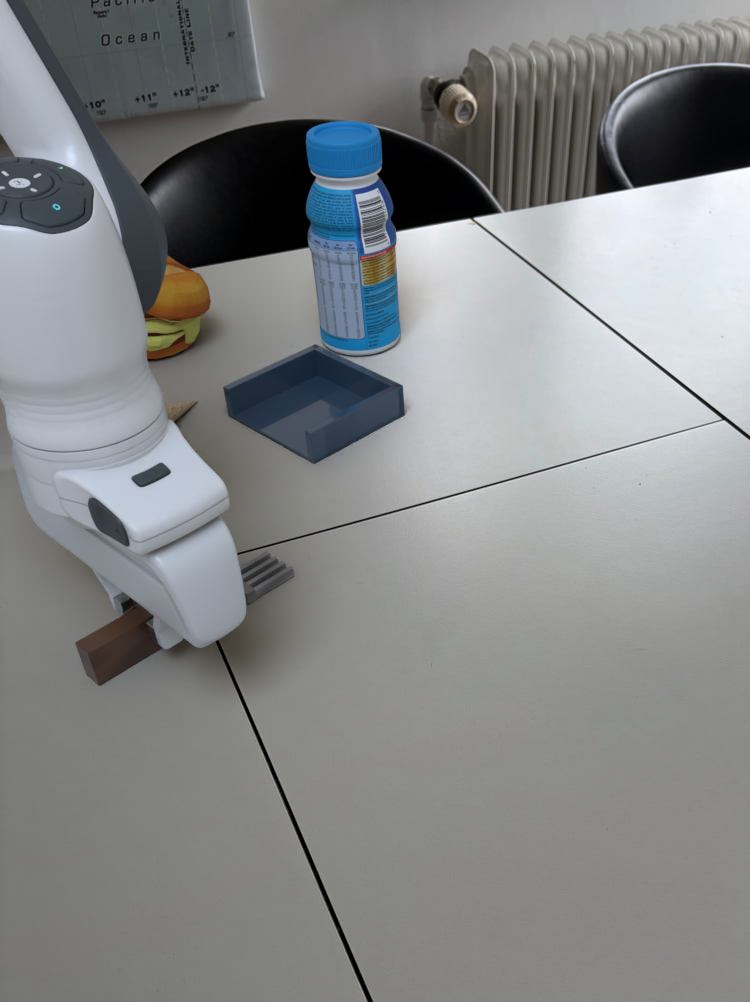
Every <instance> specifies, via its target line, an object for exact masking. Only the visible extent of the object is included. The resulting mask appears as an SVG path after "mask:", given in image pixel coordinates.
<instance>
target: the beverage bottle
mask: <svg viewBox="0 0 750 1002" xmlns="http://www.w3.org/2000/svg"><path fill="white" fill-rule="evenodd" d="M305 137H306V138H305V146H306V147H305V149H306V157H307V160H308V161H307V162H308V168H309V170H310V173H311V174H312V175H313V176H314V177H315V179H314V180H313V183H312V184H311V187H310V190H309V192H308V195H307V198H306V204H305V214H306V217H307V219H308V220H309V222H310V225H309V228H308V231H307V244H308V249H309V251H310V253H311V260H312V268H313V276H314V284H315V285H314V286H315V292H316V300H317V308H318V318H319V333H320V338H321V342H322V343H323V344H324V345H325V346H326V347H327V348H328V350H330V351H332V352H334V353H337V354H341V355H345V356H358V357H359V356H369V355H375V354H379V353H382V352H384V351H387V350H389V349H390V348H392V347H393V346H395V345H396V344H397V343H398V342H399V340H400V338H401V332H402V329H401V320H400V305H399V287H398V267H397V251H396V249H397V248H396V245H397V241H398V240H397V239H398V238H397V230H396V227H395V225H394V223H393V221H392V220H391V217H392V216H393V214H394V204H393V200H392V197H391V194H390V193H389V190H388V188H387V187H386V185H385V184H384V182H383V180H382V179H381V177H380V176H379V175H378V174H379V173H380V172H381V170H382V168H383V167H382V165H383V148H382V137H381V133H380V130H379V129H378V128H377V127H376V126H375V125H373V124H370V123H367V122H362V121H354V120H339V121H338V120H337V121H329V122H325V123H321V124H318V125H315V126H313V127H311V128H310V129H309V130H307V132H306V135H305Z"/></svg>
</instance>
